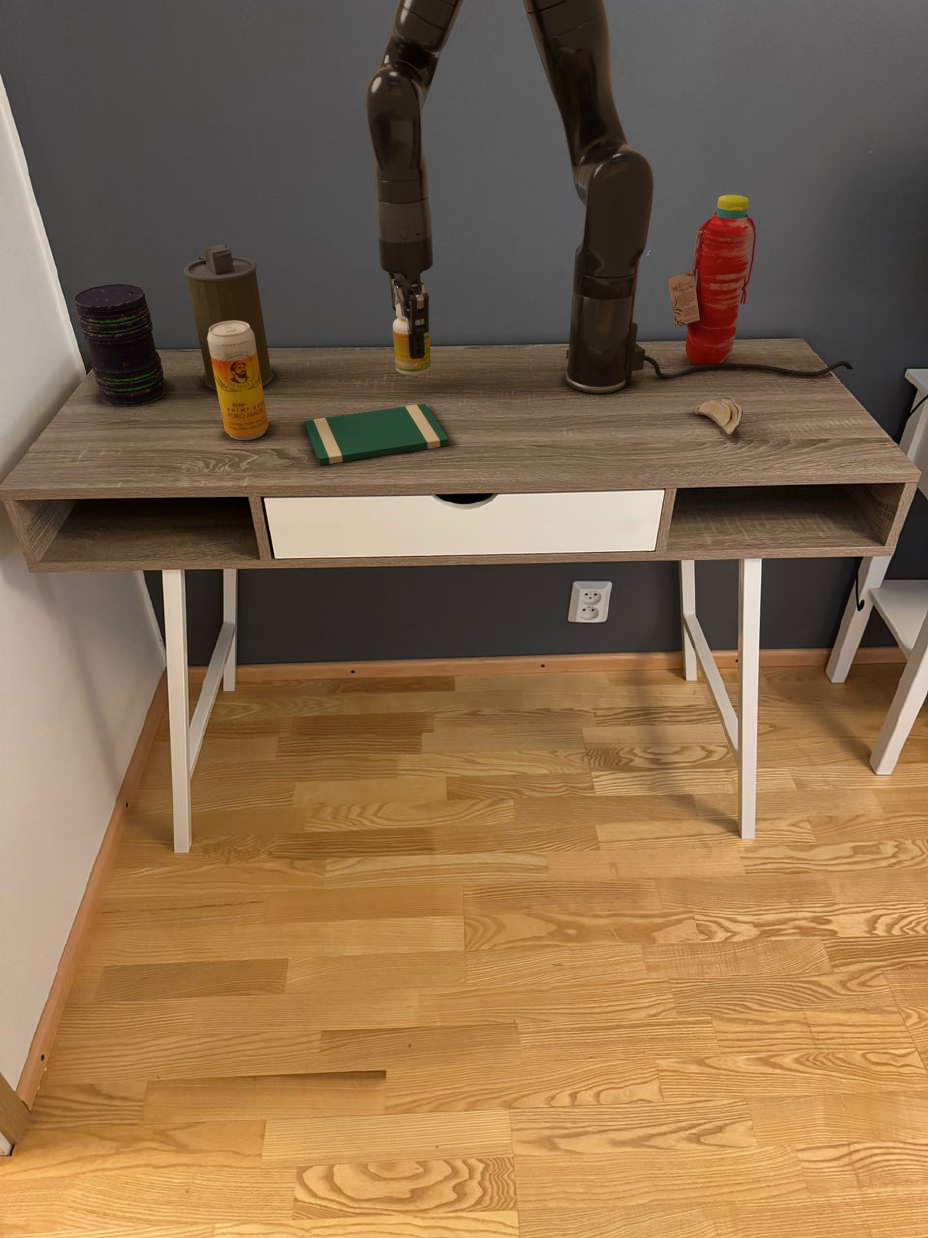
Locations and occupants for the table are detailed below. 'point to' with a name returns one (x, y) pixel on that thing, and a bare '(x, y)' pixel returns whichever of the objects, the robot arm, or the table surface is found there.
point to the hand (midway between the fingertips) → (412, 349)
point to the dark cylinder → (121, 344)
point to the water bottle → (715, 282)
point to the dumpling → (722, 413)
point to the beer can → (238, 379)
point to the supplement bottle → (402, 348)
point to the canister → (226, 302)
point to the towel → (374, 433)
